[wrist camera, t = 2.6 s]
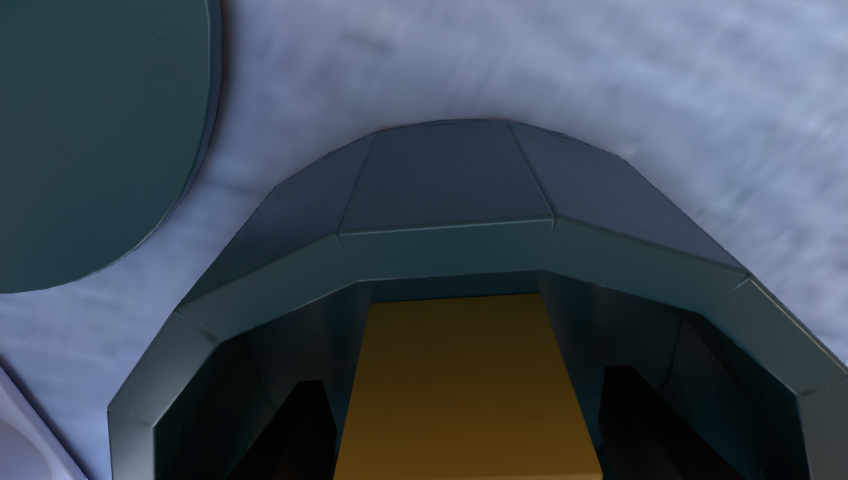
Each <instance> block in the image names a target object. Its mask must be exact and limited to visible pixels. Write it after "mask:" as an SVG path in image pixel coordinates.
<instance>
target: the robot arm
mask: <svg viewBox="0 0 848 480" xmlns="http://www.w3.org/2000/svg"><path fill="white" fill-rule="evenodd" d="M598 425H599V428H600V432H601V436H602V439H603V443H604V446H605V450H606V453H607V457H608V460H609V463H610V466H611V469H612V471H613V474H614V476H615V479H616V480H747V479H746V478H745V477H744V476H743V475H741V474H740V473H739V472H738V471H737V470H736V469H735V468H734V467H733V466H732V465H730V464H729V463H728V462H727V461H726V460H725V459H724V458H723V457H722V456H721V455H720V454H718V453H717V452H716V451H715V450H714V449H713V448H712V447H711V446H710V445H709V444H708V443H707V442H706V441H705V440H704V439H703V438H702V437H701V436H700V435H699V434H698V433H697V432H696V431H695V430H694V429H693V428H692V427H691V426H690V425H688V424H687V423H686V422H685V421H684V420H683V419H682V417H681V416H680V415H679V414H678V413H677V412H676V411H675V410H674V409H673V408H672V407H671V406H670V405H669V404H668V403H667V402H666V401H665V400H664V399H663V398H662V397H661V396H660V395H659V394H658V393H657V392H656V390H655V389H654V388H653V387H652V386H651V385H650V384H649V383H648V382H647V381H646V380H645V379H644V378H643V377H642V376H641V374H640V373H639V372H638V371H637V370H636V369H635V368H634V367H633V366H632V365H617V366H606V367H605V373H604V380H603V387H602V394H601V401H600V408H599V415H598ZM336 439H337V429H336V425H335V422H334V418H333V415H332V412H331V408H330V405H329V401H328V398H327V394H326V391H325V388H324V384H323V381H322V380H311V381H299V382H298V383H297V384H296V386H295V387H294V388H293V390H292V391H291V393H290V394H289V395H288V397H287V398H286V400H285V401H284V402H283V404H282V405H281V407H280V408H279V409H278V411H277V412H276V414H275V415H274V416H273V418H272V419H271V420H270V422H269V423H268V424H267V426H266V427H265V429H264V430H263V431H262V433H261V434H260V435H259V436H258V438H257V439H256V440H255V442H254V443H253V444H252V446H251V447H250V448H249V449H248V451H247V452H246V453H245V455H244V456H243V457H242V459H241V460H240V461H239V462H238V464H237V465H236V466H235V467H234V468H233V470H232V471H231V472H230V473H229V474H228V476H227V477H226V478H225V479H224V480H330V478H331V473H332V467H333V461H334V454H335V446H336ZM0 480H88V479H87V477H86V476H85V475H84V474H83V472H82V471H81V470H80V468H79V467H78V466H77V464H76V463H75V462H74V461H73V459H72V458H71V457H70V455H69V454H68V453H67V452H66V450H65V449H64V448H63V446H62V445H61V444H60V443H59V441H58V440H57V439H56V437H55V436H54V435H53V433H52V432H51V431H50V430H49V428H48V427H47V426H46V424H45V423H44V422H43V421H42V419H41V418H40V417H39V415H38V414H37V413H36V412H35V410H34V409H33V408H32V406H31V405H30V404H29V402H28V401H27V400H26V399H25V397H24V396H23V395H22V393H21V392H20V391H19V390H18V388H17V387H16V386H15V384H14V383H13V382H12V381H11V379H10V378H9V377H8V375H7V374H6V373H5V371H4V370H3V369H2V368H1V367H0Z"/></svg>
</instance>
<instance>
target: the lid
mask: <svg viewBox="0 0 848 480" xmlns="http://www.w3.org/2000/svg"><path fill="white" fill-rule="evenodd" d="M221 76H222V21H221V12H220V3H219V0H0V294H3V293H19V292H27V291H34V290H42V289H48V288H52V287H55V286H59V285H63V284H67V283H70V282H74V281H78V280H81V279H83V278H85V277H88V276H90V275H92V274H94V273H97V272H99V271H101V270H103V269H106V268H108V267H110V266H111V265H113V264H114V263H116V262H117V261H119V260H120V259H122V258H123V257H125V256H126V255H128V254H130V253H131V252H133V251H134V250H136V249H137V248H138V247H139V246H140V245H141V244H143V243H144V242H145V241H146V240H147V239H148V238H149V237H150V236H151V235H152V234H153V233H154V232H155V231H156V230H158V229H159V228H160V227H161V226H162V225H163V224H164V223H165V222H166V221H167V220H168V219H169V217H170V216H171V215H172V213H173V212H174V211H175V209H176V208H177V206H178V205H179V204H180V202H181V201H182V200H183V198H184V197H185V195H186V194H187V193H188V191H189V189H190V187H191V185H192V183H193V181H194V178H195V176H196V174H197V172H198V170H199V168H200V166H201V164H202V162H203V160H204V157H205V153H206V150H207V147H208V143H209V140H210V137H211V133H212V130H213V127H214V123H215V119H216V112H217V104H218V97H219V90H220V83H221Z"/></svg>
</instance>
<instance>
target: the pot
mask: <svg viewBox="0 0 848 480" xmlns="http://www.w3.org/2000/svg"><path fill="white" fill-rule="evenodd" d="M526 293H540V294H541V296H542V299H543V302H544V304H545V307H546V310H547V313H548V316H549V319H550V322H551V325H552V328H553V330H554V333H555V336H556V339H557V342H558V345H559V348H560V351H561V354H562V357H563V359H564V362H565V365H566V368H567V371H568V374H569V377H570V380H571V383H572V385H573V388H574V391H575V394H576V397H577V400H578V403H579V406H580V409H581V412H582V414H583V417H584V420H585V423H586V426H587V429H588V432H589V435H590V438H591V440H592V443H593V446H594V449H595V452H596V455H597V458H598V461H599V464H600V467H601V469H602V472H603V480H616V479H615V476H614V474H613V471H612V469H611V466H610V463H609V460H608V457H607V453H606V450H605V446H604V443H603V439H602V436H601V432H600V428H599V425H598V415H599V408H600V401H601V394H602V387H603V380H604V373H605V367H606V366H617V365H632V366H633V367H634V368H635V369H636V370H637V371H638V372H639V373H640V374H641V376H642V377H643V378H644V379H645V380H646V381H647V382H648V383H649V384H650V385H651V386H652V387H653V388H654V389H655V390H656V392H657V393H658V394H659V395H660V396H661V397H662V398H663V399H664V400H665V401H666V402H667V403H668V404H669V405H670V406H671V407H672V408H673V409H674V410H675V411H676V412H677V413H678V414H679V415H680V416H681V417H682V419H683V420H684V421H685V422H686V423H687V424H688V425H690V426H691V427H692V428H693V429H694V430H695V431H696V432H697V433H698V434H699V435H700V436H701V437H702V438H703V439H704V440H705V441H706V442H707V443H708V444H709V445H710V446H711V447H712V448H713V449H714V450H715V451H716V452H717V453H718V454H720V455H721V456H722V457H723V458H724V459H725V460H726V461H727V462H728V463H729V464H730V465H732V466H733V467H734V468H735V469H736V470H737V471H738V472H739V473H740V474H741V475H743V476H744V477H745V478H746V479H747V480H848V367H847V366H846V365H845V364H844V363H843V362H842V361H841V360H840V359H839V358H838V357H837V356H836V355H835V354H834V353H833V352H832V351H831V350H829V349H828V348H827V347H826V346H825V345H824V344H823V343H822V342H821V341H820V340H819V339H818V338H817V337H816V336H815V335H814V334H813V333H812V332H811V331H810V330H809V329H808V328H807V327H806V326H805V325H804V324H803V323H802V322H801V321H800V320H799V319H798V318H797V317H796V316H795V315H794V314H793V313H792V312H791V311H790V310H789V309H788V308H787V307H786V306H785V305H784V304H783V303H782V302H781V301H780V300H779V299H778V298H777V297H776V296H775V295H774V294H773V293H771V292H770V291H769V290H768V289H767V288H766V287H765V286H764V285H763V284H762V283H761V282H760V281H759V280H758V279H757V278H756V277H755V276H754V275H753V274H752V273H751V272H750V271H749V270H748V269H747V268H745V267H744V266H743V265H742V264H741V263H740V262H739V261H738V260H736V259H735V258H734V257H733V256H732V255H731V254H730V253H729V252H728V251H726V250H725V249H724V248H723V247H722V246H721V245H720V244H719V243H717V242H716V241H715V240H714V239H713V238H712V237H711V236H710V235H708V234H707V233H706V232H705V231H704V230H703V229H702V228H701V227H700V226H698V225H697V224H696V223H695V222H694V221H693V220H692V219H691V218H689V217H688V216H687V215H686V214H685V213H684V212H683V211H682V210H681V209H679V208H678V207H677V206H676V205H675V204H674V203H673V202H672V201H670V200H669V199H668V198H667V197H666V196H665V195H664V194H663V193H661V192H660V191H659V190H658V189H657V188H656V187H655V186H654V185H653V184H651V183H650V182H649V181H648V180H647V179H646V178H645V177H644V176H642V175H641V174H640V173H639V172H638V171H637V170H636V169H635V168H633V167H632V166H631V165H630V164H629V163H628V162H627V161H626V160H625V159H621V158H620V157H619V156H617V155H614V154H611V153H608V152H604V151H601V150H599V149H597V148H596V147H593V146H591V145H588V144H586V143H583V142H581V141H578V140H576V139H573V138H571V137H568V136H566V135H564V134H561V133H558V132H554V131H550V130H546V129H542V128H537V127H533V126H529V125H525V124H521V123H514V122H511V121H506V122H505V121H504V120H494V121H493V120H484V119H470V120H439V121H432V122H426V123H420V124H413V125H407V126H401V127H397V128H394V129H391V130H382V131H379V132H375V133H373V134H371V135H369V136H367V137H364V138H361V139H359V140H357V141H355V142H352V143H350V144H348V145H346V146H344V147H341V148H339V149H337V150H335V151H332V152H330V153H328V154H327V155H325V156H324V157H322V158H320V159H319V160H317V161H316V162H314V163H313V164H311V165H309V166H308V167H306V168H305V169H303V170H302V171H300V172H299V173H298V174H296V175H294V176H293V177H291V178H289V179H287V180H285V181H283V182H281V183H280V184H278V185H277V186H276V187H275V188H274V189H273V190H272V191H271V193H270V194H269V195H268V196H267V197H266V199H265V200H264V201H263V202H262V203H261V205H260V206H259V207H258V208H257V209H256V211H255V212H254V213H253V214H252V216H251V217H250V218H249V219H248V220H247V222H246V223H245V224H244V225H243V226H242V228H241V229H240V230H239V231H238V233H237V234H236V235H235V236H234V237H233V239H232V240H231V241H230V242H229V243H228V245H227V246H226V247H225V248H224V250H223V251H222V252H221V253H220V254H219V256H218V257H217V258H216V259H215V260H214V262H213V263H212V264H211V265H210V266H209V268H208V269H207V270H206V271H205V273H204V274H203V275H202V276H201V277H200V279H199V280H198V281H197V282H196V283H195V285H194V286H193V287H192V288H191V290H190V291H189V292H188V293H187V294H186V296H185V297H184V298H183V299H182V300H181V302H180V303H179V304H178V305H177V307H176V308H175V309H174V310H173V312H172V313H171V315H170V316H169V317H168V319H167V320H166V322H165V323H164V325H163V326H162V328H161V329H160V331H159V332H158V333H157V335H156V336H155V338H154V339H153V341H152V342H151V344H150V345H149V347H148V348H147V350H146V351H145V352H144V354H143V355H142V357H141V358H140V360H139V361H138V363H137V364H136V366H135V367H134V368H133V370H132V371H131V373H130V374H129V376H128V377H127V379H126V380H125V382H124V383H123V384H122V386H121V387H120V389H119V390H118V392H117V393H116V395H115V396H114V398H113V399H112V401H111V402H110V403H109V405H108V407H107V409H108V410H107V418H108V431H109V444H110V457H111V470H112V480H224V479H225V478H226V477H227V476H228V474H229V473H230V472H231V471H232V470H233V468H234V467H235V466H236V465H237V464H238V462H239V461H240V460H241V459H242V457H243V456H244V455H245V453H246V452H247V451H248V449H249V448H250V447H251V446H252V444H253V443H254V442H255V440H256V439H257V438H258V436H259V435H260V434H261V433H262V431H263V430H264V429H265V427H266V426H267V424H268V423H269V422H270V420H271V419H272V418H273V416H274V415H275V414H276V412H277V411H278V409H279V408H280V407H281V405H282V404H283V402H284V401H285V400H286V398H287V397H288V395H289V394H290V393H291V391H292V390H293V388H294V387H295V386H296V384H297V383H298V382H299V381H311V380H322V381H323V384H324V388H325V391H326V394H327V398H328V401H329V405H330V408H331V412H332V415H333V418H334V422H335V425H336V429H337V439H336V446H335V454H334V461H333V467H332V473H331V478H330V480H333V477H334V473H335V468H336V463H337V459H338V454H339V449H340V444H341V440H342V435H343V430H344V425H345V421H346V416H347V411H348V407H349V402H350V397H351V392H352V388H353V383H354V378H355V373H356V369H357V364H358V359H359V355H360V350H361V345H362V340H363V336H364V331H365V326H366V321H367V317H368V312H369V307H370V304H371V303H382V302H398V301H414V300H430V299H446V298H462V297H478V296H494V295H510V294H526Z"/></svg>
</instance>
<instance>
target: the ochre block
mask: <svg viewBox="0 0 848 480" xmlns="http://www.w3.org/2000/svg"><path fill="white" fill-rule="evenodd" d="M333 480H603V472H602V469H601V467H600V464H599V461H598V458H597V455H596V452H595V449H594V446H593V443H592V440H591V438H590V435H589V432H588V429H587V426H586V423H585V420H584V417H583V414H582V412H581V409H580V406H579V403H578V400H577V397H576V394H575V391H574V388H573V385H572V383H571V380H570V377H569V374H568V371H567V368H566V365H565V362H564V359H563V357H562V354H561V351H560V348H559V345H558V342H557V339H556V336H555V333H554V330H553V328H552V325H551V322H550V319H549V316H548V313H547V310H546V307H545V304H544V302H543V299H542V296H541V294H540V293H526V294H510V295H494V296H478V297H462V298H446V299H430V300H414V301H398V302H382V303H371V304H370V307H369V312H368V317H367V321H366V326H365V331H364V336H363V340H362V345H361V350H360V355H359V359H358V364H357V369H356V373H355V378H354V383H353V388H352V392H351V397H350V402H349V407H348V411H347V416H346V421H345V425H344V430H343V435H342V440H341V444H340V449H339V454H338V459H337V463H336V468H335V473H334V477H333Z"/></svg>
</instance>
